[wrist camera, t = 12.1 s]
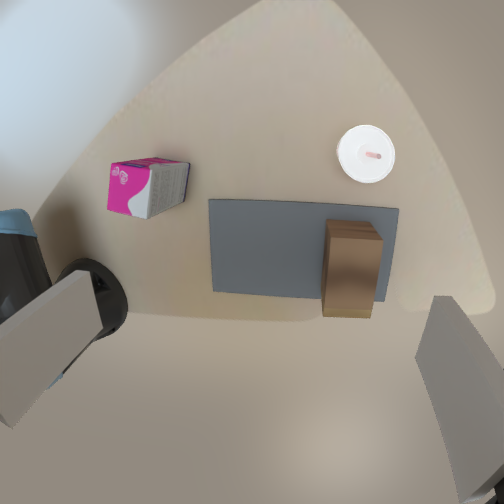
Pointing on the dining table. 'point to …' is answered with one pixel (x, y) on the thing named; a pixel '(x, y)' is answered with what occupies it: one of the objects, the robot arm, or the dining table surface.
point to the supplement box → (146, 186)
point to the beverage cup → (366, 153)
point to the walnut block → (350, 268)
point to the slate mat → (285, 245)
